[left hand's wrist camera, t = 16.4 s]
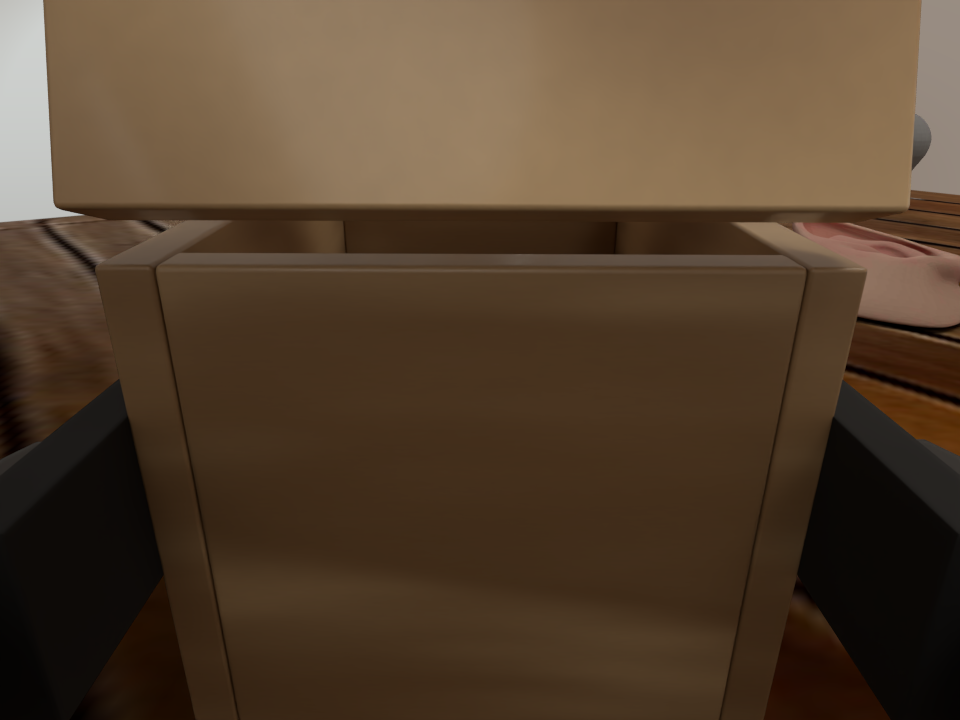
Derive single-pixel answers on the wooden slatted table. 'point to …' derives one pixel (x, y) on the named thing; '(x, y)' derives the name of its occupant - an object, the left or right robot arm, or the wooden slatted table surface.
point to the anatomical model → (895, 274)
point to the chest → (480, 459)
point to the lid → (483, 109)
